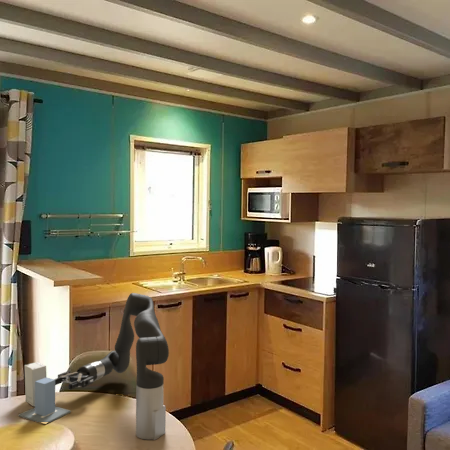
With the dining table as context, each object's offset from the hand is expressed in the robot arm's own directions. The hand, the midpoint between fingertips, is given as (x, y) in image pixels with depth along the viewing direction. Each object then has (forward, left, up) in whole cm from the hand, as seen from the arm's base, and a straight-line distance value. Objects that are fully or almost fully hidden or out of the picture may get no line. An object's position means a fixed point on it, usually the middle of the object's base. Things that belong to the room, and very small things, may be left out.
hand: (61, 384), depth 184 cm
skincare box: (+12, +2, -9) cm, 15 cm away
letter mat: (0, +8, -8) cm, 12 cm away
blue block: (0, +8, -8) cm, 11 cm away
